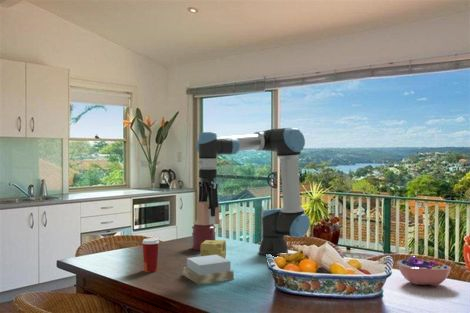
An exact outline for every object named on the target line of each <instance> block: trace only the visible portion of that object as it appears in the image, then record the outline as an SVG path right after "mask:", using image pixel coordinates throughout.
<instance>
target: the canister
mask: <svg viewBox="0 0 470 313" xmlns="http://www.w3.org/2000/svg"><path fill="white" fill-rule="evenodd" d="M191 228H192V233H191V234H192V235H191V237H192V238H191V242H192V243H191V247H192V250H194V251H198V252H199V251H200V252H201V250H200V248H201V244H202V243H203V242H204V241H205V240H216V230H215V229H216V228H217V227H216V225H215V224H213V225H202V224H199V223H197V219H196V220H195V221H194V222H193V226H192V227H191Z"/></svg>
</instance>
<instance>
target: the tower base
mask: <svg viewBox="0 0 470 313" xmlns="http://www.w3.org/2000/svg"><path fill="white" fill-rule="evenodd" d="M234 273H235V271H234V270H232V269H231V271H227V272H219V273H212V274H205V275H198V274H197V273H195V272H194V271H192V270H190V269H189V268H187V266H185V267H184V266H183V272H182V274H183V277H185V278H187V279H189V280H190V281H192V282H194V283H195V284H197V285H199V286H200V285H205V284H206V285H207V284H212V282H213V283H218V282H217V281H219V282H225V281H231V280H234V279H235V274H234ZM224 280H225V281H224Z"/></svg>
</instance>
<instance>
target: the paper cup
mask: <svg viewBox="0 0 470 313" xmlns="http://www.w3.org/2000/svg"><path fill="white" fill-rule="evenodd" d="M159 243H160V241H159V239H158V238H155V237H149V238H144V239H143V240H142V242H141V244H142V254H143V266H144V267H143V269H144V272H145V273H155V272H158V263H159V245H160V244H159Z"/></svg>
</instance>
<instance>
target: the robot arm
mask: <svg viewBox="0 0 470 313" xmlns="http://www.w3.org/2000/svg"><path fill="white" fill-rule="evenodd" d="M217 134H218V133H217V132H214V131H213V132H211V131H206V132H205V131H202V132H200V133H199V135H198V140H197V141H196V144H195V148H196V151H197V152H198V161H197V162H198V167H199V170H198V177H199V179H202V180H201V181H198V201H197V202H204V201H209V206H210V207H209V208H208V209H209V225H210V224H213V225H216V224H215V208H216V207H218V202H219V198H218V196H219V195H218V183H215V179H216V178H217V177H218V176H217V175H218V170H217V168H218V167H217V166H218V165H217V164H218V159H217V158H218V155H229V156H231V155H236V154H237V153H238V152H243V151H251V150H255V151H256V152H260V151H261V152H262V151H263V152H264V151H266V152H275V153H276V157H277V158H278V159H279V161H280V173H281V174H280V175H281V191H282V205H283V206H282V208H270V209H268V208H267V209H264V210H263V211H262V213H261V214H262V216H261V231H262V232H261V233H262V234H261V237H262V238H261V241H260V244H259V248H258V253H259V255H263V256H266V254H271V255H273V256H272V257H278V256H277V254H278V253H288V254H289V248H288V244H287V242H286V236H287V237H292V238H302V237H303V238H304V236H305V235H306V234H307V233H308V232H309V229H310V225H311V224H310V223H311V221H310V218H309V216H308V215H307V214H305V208H304V207H302V206H301V204H302V203H301V190H300V176H299V175H300V170H299V157H300V156H301V151H303V150H304V147H305V144H306V139H305V137H304V133H303V132H301V130H300V129H298V128H296V127H284V128H271V129H267V130H262V131H255V132H253V134H240V135H227V136H217Z"/></svg>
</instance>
